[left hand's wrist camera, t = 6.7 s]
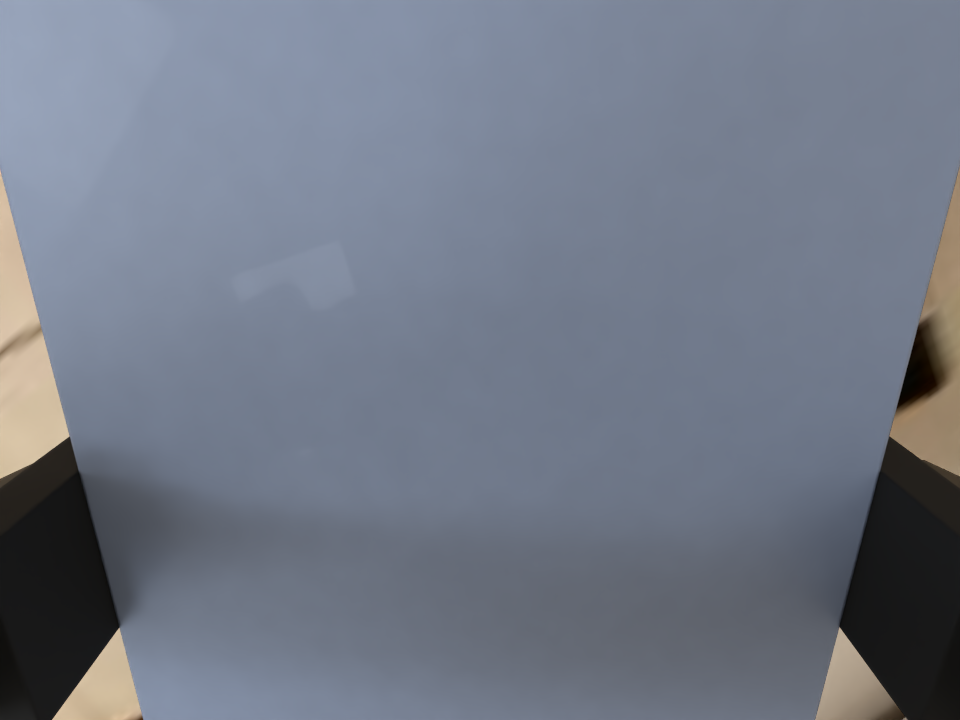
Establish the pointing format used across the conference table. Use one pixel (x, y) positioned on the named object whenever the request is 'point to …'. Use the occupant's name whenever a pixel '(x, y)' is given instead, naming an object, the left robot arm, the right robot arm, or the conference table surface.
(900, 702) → the left robot arm
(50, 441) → the conference table surface
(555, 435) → the cabinet
